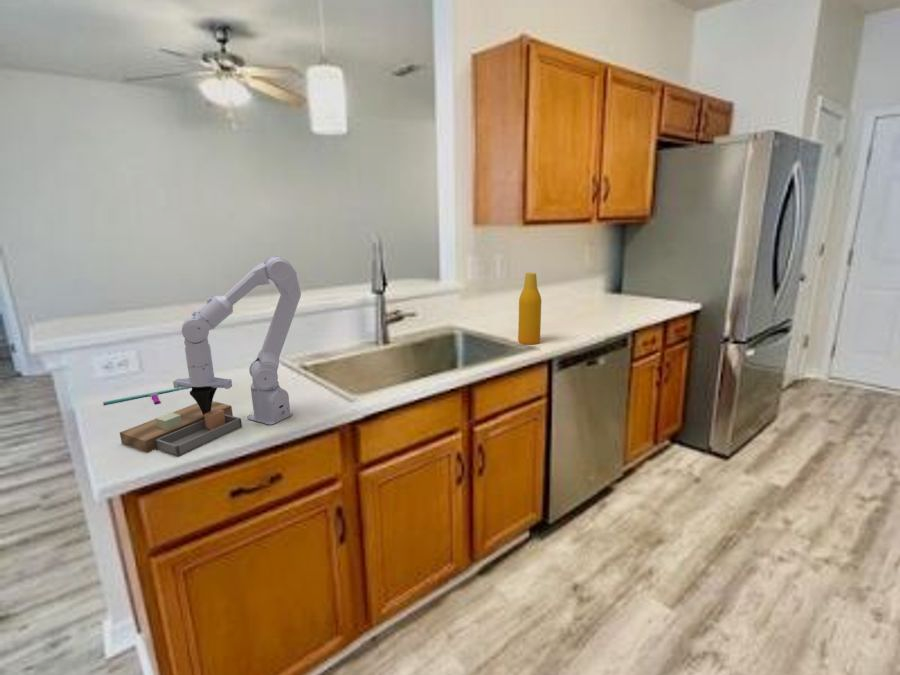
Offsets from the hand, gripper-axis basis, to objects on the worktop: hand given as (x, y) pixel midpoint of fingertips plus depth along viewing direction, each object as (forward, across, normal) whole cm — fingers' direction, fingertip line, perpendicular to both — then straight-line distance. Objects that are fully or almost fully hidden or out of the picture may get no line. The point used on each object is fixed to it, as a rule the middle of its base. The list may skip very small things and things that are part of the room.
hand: (207, 413), depth 129 cm
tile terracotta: (+1, -1, 0) cm, 2 cm away
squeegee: (+5, +27, -21) cm, 34 cm away
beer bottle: (+3, -92, -87) cm, 126 cm away
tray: (+4, -1, +6) cm, 7 cm away
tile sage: (+1, +7, +6) cm, 9 cm away
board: (+4, +7, +1) cm, 8 cm away
